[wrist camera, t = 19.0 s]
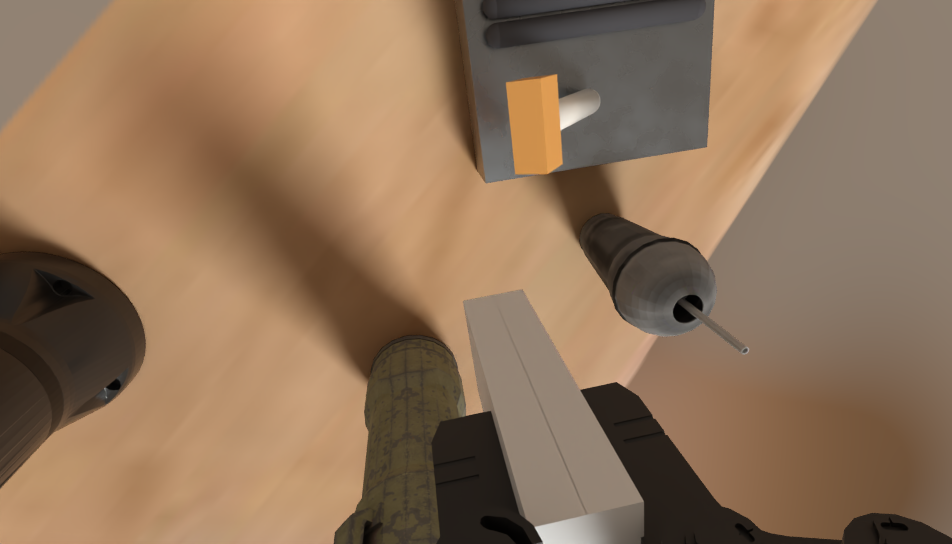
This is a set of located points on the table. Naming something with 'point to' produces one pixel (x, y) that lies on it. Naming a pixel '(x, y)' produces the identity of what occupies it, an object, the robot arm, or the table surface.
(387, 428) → the thermos
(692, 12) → the cord bundle
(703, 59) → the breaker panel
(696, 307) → the beverage cup
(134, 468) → the table surface
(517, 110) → the orange mallet
